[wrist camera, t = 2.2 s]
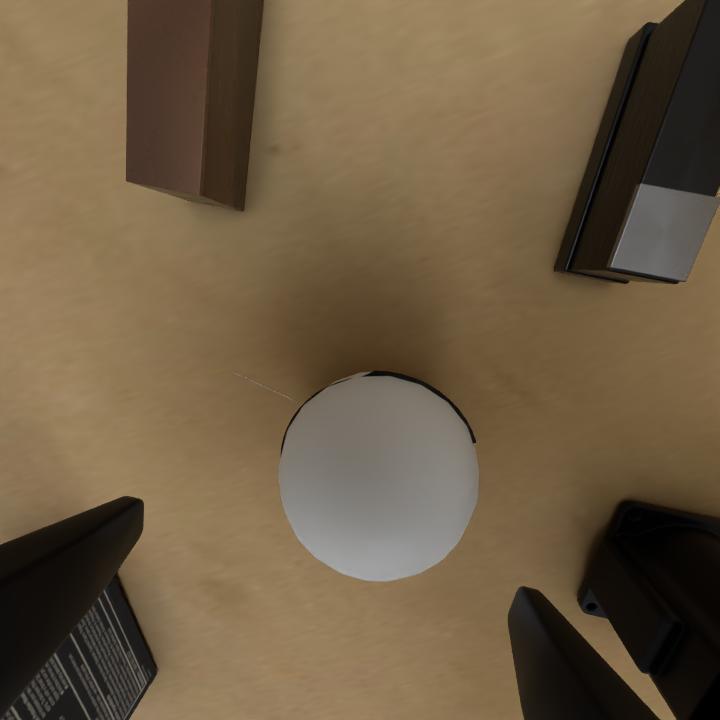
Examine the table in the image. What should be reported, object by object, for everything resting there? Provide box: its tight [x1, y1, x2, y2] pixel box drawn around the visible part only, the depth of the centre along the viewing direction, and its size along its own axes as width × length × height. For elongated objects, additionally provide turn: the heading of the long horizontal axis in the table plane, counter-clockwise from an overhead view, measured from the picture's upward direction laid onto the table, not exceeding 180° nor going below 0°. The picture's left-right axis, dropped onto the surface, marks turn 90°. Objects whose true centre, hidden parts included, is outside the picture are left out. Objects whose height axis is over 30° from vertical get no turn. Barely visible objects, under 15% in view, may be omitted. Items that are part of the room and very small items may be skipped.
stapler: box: [554, 0, 720, 284], centre depth 12 cm, size 2×8×4 cm, turn 169°
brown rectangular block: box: [126, 0, 263, 211], centre depth 12 cm, size 2×8×4 cm, turn 169°
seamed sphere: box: [231, 371, 479, 581], centre depth 13 cm, size 10×7×7 cm
